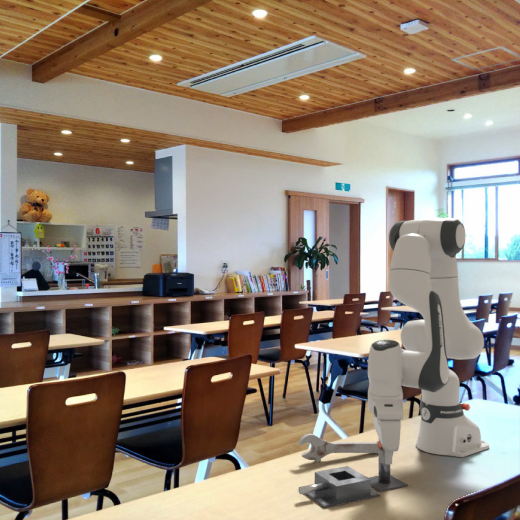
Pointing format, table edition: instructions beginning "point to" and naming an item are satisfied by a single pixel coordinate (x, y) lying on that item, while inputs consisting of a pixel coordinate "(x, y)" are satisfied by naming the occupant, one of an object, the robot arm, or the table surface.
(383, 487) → the mat
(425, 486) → the table surface
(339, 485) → the grey square socket base
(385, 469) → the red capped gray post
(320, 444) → the wrench
